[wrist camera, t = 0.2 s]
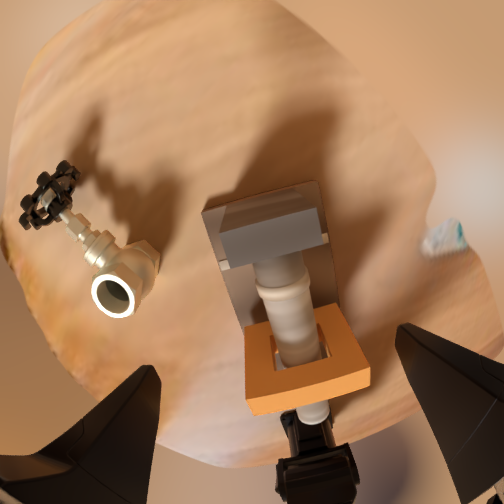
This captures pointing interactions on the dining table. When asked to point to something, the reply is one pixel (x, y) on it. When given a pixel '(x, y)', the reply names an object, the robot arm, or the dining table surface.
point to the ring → (303, 366)
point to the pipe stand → (278, 270)
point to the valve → (95, 245)
